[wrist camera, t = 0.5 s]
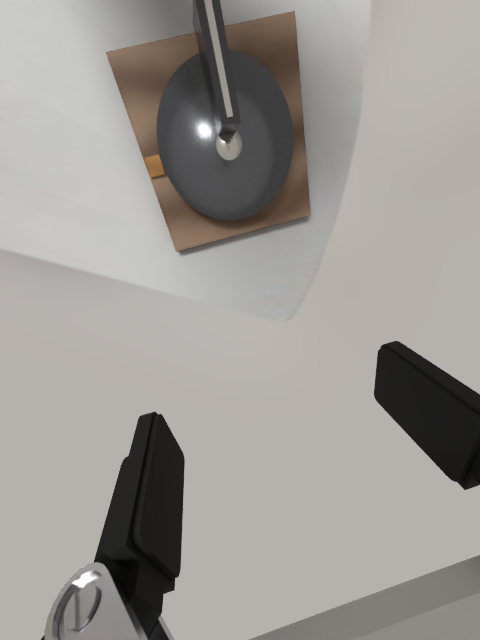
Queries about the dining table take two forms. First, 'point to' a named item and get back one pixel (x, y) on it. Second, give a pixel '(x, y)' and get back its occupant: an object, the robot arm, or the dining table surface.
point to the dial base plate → (143, 103)
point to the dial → (223, 126)
